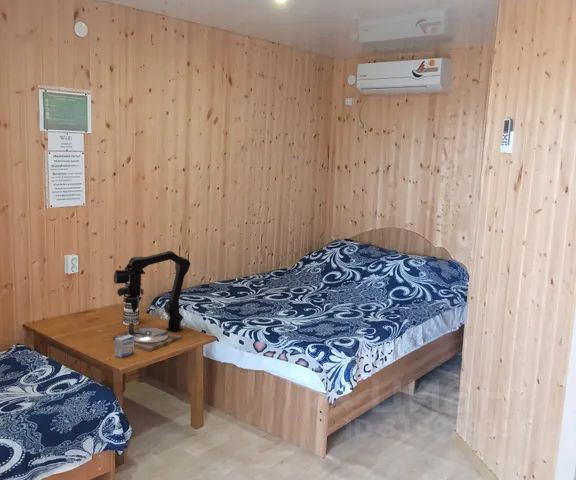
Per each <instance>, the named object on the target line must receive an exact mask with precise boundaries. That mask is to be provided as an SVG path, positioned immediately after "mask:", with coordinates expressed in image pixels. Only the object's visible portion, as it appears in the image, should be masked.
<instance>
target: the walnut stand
mask: <svg viewBox="0 0 576 480" xmlns="http://www.w3.org/2000/svg"><path fill="white" fill-rule="evenodd" d="M139 328H156V327H153V326H152V325H144V326H141V327H138V328H137V329H139ZM165 331H166V332H167V333H168V338H167V339H166V340H164V341H162V342H158V343H138V342H134V348H137V349H140V350H142V351H146V352H148V353H149V352H152V351H155V350H157V349H160V348H162V347H165V346H167V345H170V344H172V343H175V342H178V341H180V340H182V339H183V336H182V335H180V334H176V333H175V332H169V331H168V330H165ZM128 333H129V331H127V332H123V333H121V334H117V335H114V336H113V337H112V340H114V341H115V338H118V337H122V336H125V335H128Z"/></svg>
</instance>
